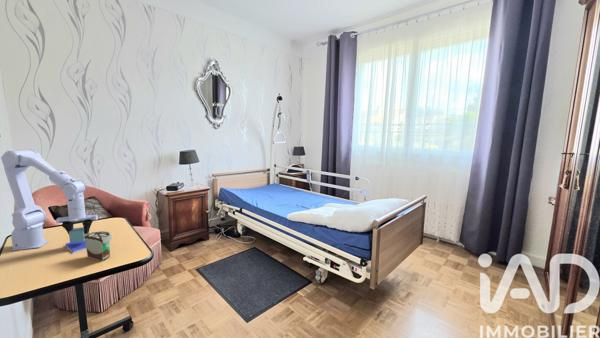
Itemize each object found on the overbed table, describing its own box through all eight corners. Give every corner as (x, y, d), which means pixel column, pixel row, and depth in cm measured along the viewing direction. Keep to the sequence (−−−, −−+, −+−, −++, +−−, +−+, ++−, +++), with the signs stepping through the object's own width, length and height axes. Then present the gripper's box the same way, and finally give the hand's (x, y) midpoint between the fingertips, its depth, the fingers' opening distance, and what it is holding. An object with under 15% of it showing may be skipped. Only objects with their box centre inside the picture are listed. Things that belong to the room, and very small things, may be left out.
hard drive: (96, 244, 115) (87, 237, 122) (72, 251, 109) (65, 243, 116) (96, 248, 116) (87, 240, 123) (73, 254, 109) (65, 246, 116)
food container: (120, 255, 108) (118, 233, 107) (105, 262, 103) (103, 239, 101) (100, 250, 112) (98, 229, 111) (85, 256, 107) (83, 234, 105)
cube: (69, 242, 112) (68, 231, 111) (75, 238, 117) (74, 227, 116) (83, 241, 114) (82, 230, 113) (88, 236, 118) (87, 226, 118)
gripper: (50, 211, 107) (54, 241, 109) (92, 208, 112) (95, 237, 114) (59, 207, 113) (62, 235, 115) (98, 204, 119) (100, 231, 120)
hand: (79, 236), depth 115 cm, fingers closed on cube, 5 cm apart
